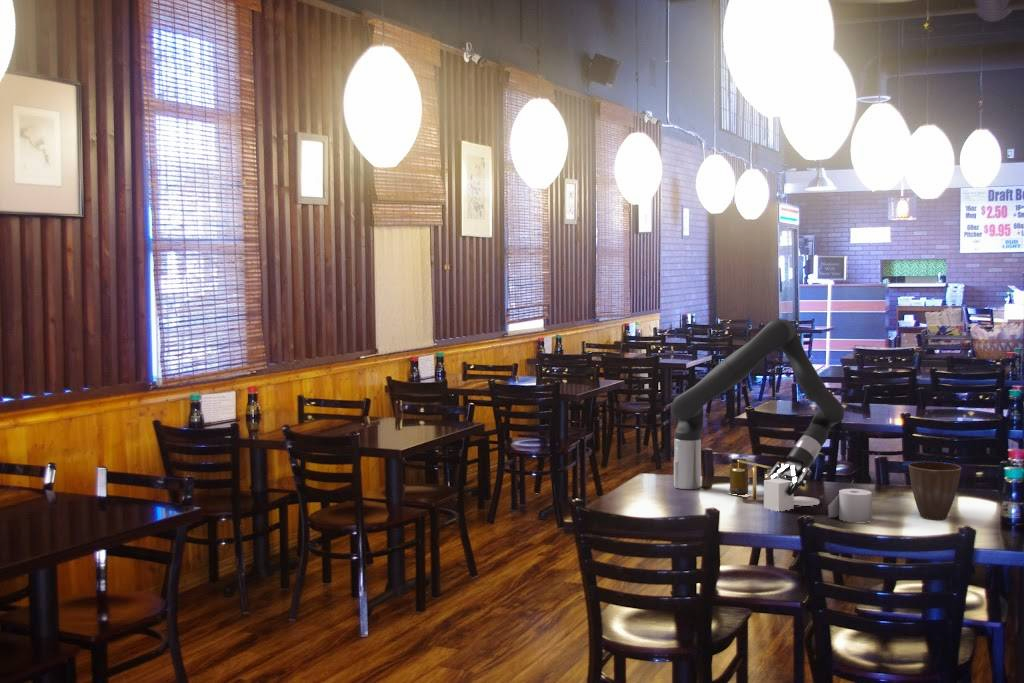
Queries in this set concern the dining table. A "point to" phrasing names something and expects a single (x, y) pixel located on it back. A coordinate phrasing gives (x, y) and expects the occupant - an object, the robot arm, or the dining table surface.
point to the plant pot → (934, 487)
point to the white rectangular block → (777, 495)
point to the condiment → (738, 478)
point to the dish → (805, 501)
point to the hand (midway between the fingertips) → (778, 491)
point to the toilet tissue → (852, 505)
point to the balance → (754, 498)
